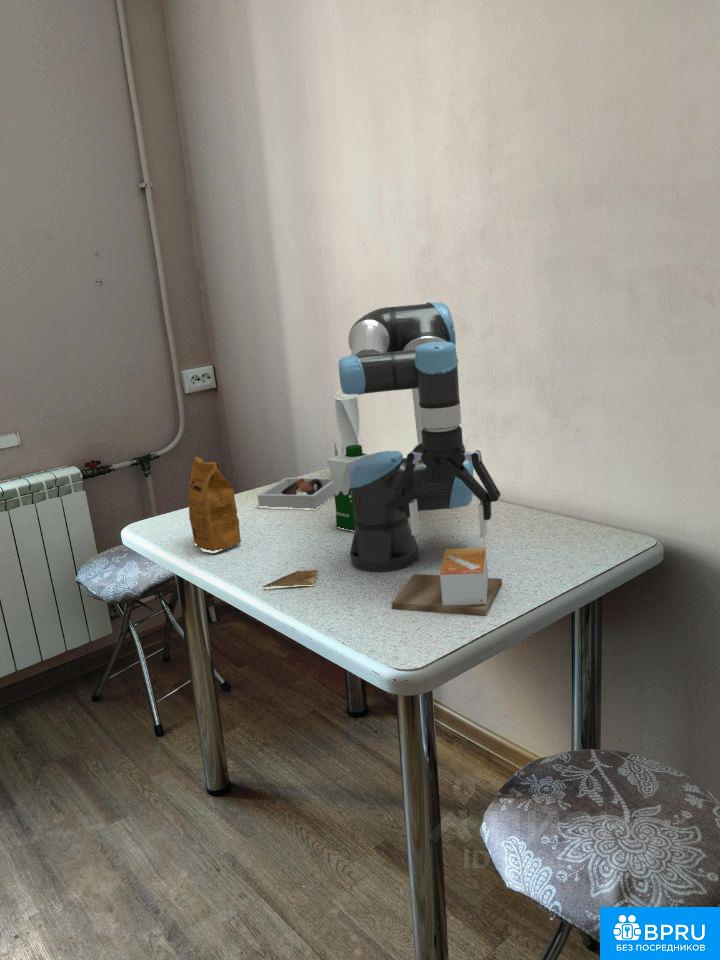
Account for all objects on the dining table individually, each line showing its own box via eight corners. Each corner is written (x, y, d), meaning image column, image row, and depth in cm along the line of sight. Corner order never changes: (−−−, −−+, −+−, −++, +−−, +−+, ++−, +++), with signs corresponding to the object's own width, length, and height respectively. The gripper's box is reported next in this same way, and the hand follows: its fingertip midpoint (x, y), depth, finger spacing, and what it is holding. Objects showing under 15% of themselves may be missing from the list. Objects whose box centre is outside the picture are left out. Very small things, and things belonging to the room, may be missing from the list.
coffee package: (224, 534, 200) (211, 451, 194) (247, 546, 190) (234, 458, 184) (188, 545, 195) (174, 460, 189) (209, 557, 185) (194, 468, 179)
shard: (263, 593, 163) (262, 585, 162) (270, 578, 170) (268, 570, 169) (314, 589, 162) (313, 581, 161) (319, 574, 169) (318, 567, 168)
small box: (485, 546, 153) (484, 573, 140) (488, 576, 154) (487, 605, 142) (444, 548, 154) (439, 574, 142) (447, 578, 156) (442, 606, 144)
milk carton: (380, 523, 196) (373, 446, 191) (355, 534, 190) (346, 455, 185) (356, 518, 202) (348, 443, 197) (330, 528, 196) (321, 451, 191)
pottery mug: (301, 513, 213) (285, 487, 213) (289, 520, 221) (273, 496, 221) (334, 491, 219) (318, 467, 219) (321, 499, 227) (306, 476, 227)
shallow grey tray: (259, 508, 219) (257, 495, 218) (287, 490, 234) (285, 477, 233) (315, 510, 212) (314, 496, 211) (340, 491, 228) (339, 478, 227)
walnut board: (391, 608, 148) (391, 602, 147) (414, 579, 160) (414, 573, 160) (486, 615, 141) (485, 609, 140) (502, 584, 153) (501, 578, 153)
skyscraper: (344, 477, 243) (334, 388, 236) (369, 477, 241) (360, 386, 233) (336, 485, 235) (325, 393, 228) (361, 485, 233) (351, 392, 225)
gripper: (512, 421, 144) (517, 529, 150) (385, 423, 153) (394, 525, 159) (504, 431, 137) (509, 543, 143) (371, 432, 147) (382, 538, 153)
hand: (449, 534), depth 151 cm, fingers open, 13 cm apart
